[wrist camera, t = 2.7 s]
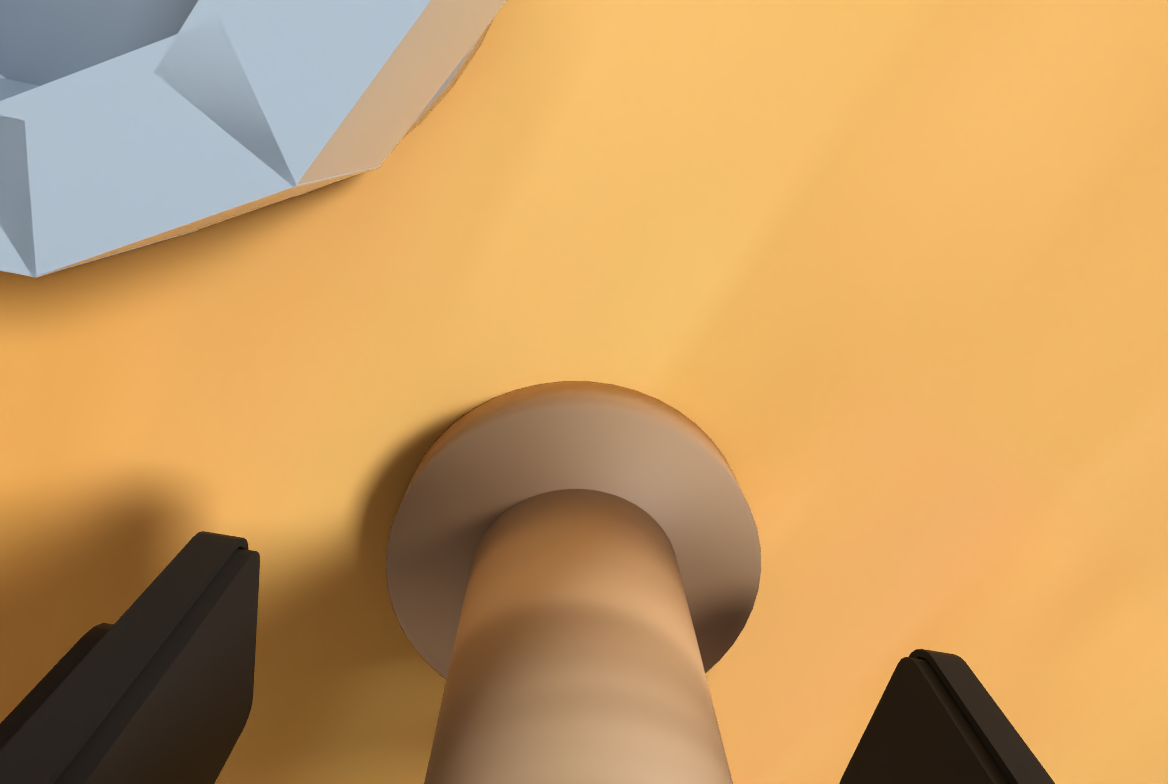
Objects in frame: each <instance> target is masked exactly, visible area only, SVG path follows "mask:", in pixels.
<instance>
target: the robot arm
mask: <svg viewBox="0 0 1168 784" xmlns="http://www.w3.org/2000/svg"><path fill="white" fill-rule="evenodd" d="M259 569H260V555H259V553H258V552H257V551H251V550H248V543H247V540H246V539H244V538H240V537H234V536H228V535H222V534H216V533H210V532H204V531H203V532H199V533H198V534H196V535H195V536H194V537H193V538H192V539H191V540H190V541H189V542H188V544H187V545H186V546H185V547H184V548H183V549H182V550H181V551H180V552H179V554H178V555H177V556H176V557H175V558H174V559H173V560H172V561H171V562H170V564H169V565H168V566H167V567H166V568H165V569H164V570H163V571H162V572H161V573H160V575H159V576H158V577H157V578H156V579H155V580H154V581H153V582H152V583H151V585H150V586H149V587H148V588H147V589H146V590H145V591H144V592H143V593H142V595H141V596H140V597H139V598H138V599H137V600H136V601H135V602H134V603H133V604H132V606H131V607H130V608H129V609H128V610H127V611H126V612H125V613H124V614H123V616H122V617H121V618H120V619H119V620H118V621H117V622H116V623H115V624H107V623H102V624H100V625H97V626H95V627H93V628H92V629H91V630H90V631H88V632H87V633H86V634H85V635H84V636H83V637H82V638H81V639H80V640H79V641H78V642H77V643H76V644H75V645H74V646H73V647H72V648H71V649H70V651H69V652H68V653H67V654H66V655H65V656H64V657H63V658H62V659H61V660H60V661H59V662H58V663H57V664H56V665H55V666H54V667H53V669H52V670H51V671H50V672H49V673H48V674H47V675H46V676H45V677H44V678H43V679H42V680H41V681H40V682H39V683H38V684H37V685H36V687H35V688H34V689H33V690H32V691H31V692H30V693H29V694H28V695H27V696H26V697H25V698H24V699H23V700H22V701H21V702H20V704H19V705H18V706H17V707H16V708H15V709H14V710H13V711H12V712H11V713H10V714H9V715H8V716H7V717H6V718H5V719H4V720H3V722H2V723H1V724H0V784H214V783H215V781H216V779H217V777H218V775H219V774H220V772H221V770H222V768H223V766H224V764H225V762H226V761H227V759H228V757H229V755H230V753H231V751H232V749H233V747H234V746H235V744H236V742H237V740H238V738H239V736H240V734H241V732H242V731H243V729H244V726H245V724H246V722H247V719H248V717H249V713H250V710H251V706H252V700H253V684H254V665H255V646H256V627H257V608H258V588H259ZM840 784H1055V783H1054V781H1053V780H1052V779H1051V777H1050V776H1049V775H1048V773H1047V772H1046V771H1045V769H1044V768H1043V766H1042V765H1041V764H1040V762H1039V761H1038V760H1037V758H1036V757H1035V756H1034V754H1033V753H1032V752H1031V750H1030V749H1029V748H1028V746H1027V745H1026V743H1025V742H1024V741H1023V739H1022V738H1021V737H1020V735H1019V734H1018V733H1017V731H1016V730H1015V729H1014V727H1013V726H1012V724H1011V723H1010V722H1009V720H1008V719H1007V718H1006V716H1005V715H1004V714H1003V712H1002V711H1001V710H1000V708H999V707H998V706H997V704H996V703H995V701H994V700H993V699H992V697H991V696H990V695H989V693H988V692H987V691H986V689H985V688H984V687H983V685H982V684H981V683H980V681H979V680H978V678H977V677H976V676H975V674H974V673H973V672H972V670H971V669H970V668H969V666H968V665H967V664H966V662H965V661H964V660H963V659H962V658H961V657H959V656H957V655H954V654H948V653H942V652H936V651H930V650H924V649H916V650H915V651H913V652H912V653H911V654H910V655H909V657H904V658H903V659H901V660H900V662H899V663H898V665H897V667H896V669H895V671H894V673H893V675H892V677H891V679H890V681H889V683H888V685H887V687H886V689H885V691H884V693H883V695H882V697H881V699H880V701H879V703H878V705H877V707H876V709H875V711H874V714H873V716H872V718H871V720H870V722H869V724H868V726H867V728H866V730H865V732H864V734H863V736H862V738H861V740H860V742H859V744H858V746H857V748H856V750H855V752H854V754H853V756H852V758H851V760H850V762H849V764H848V766H847V768H846V770H845V772H844V774H843V776H842V778H841V781H840Z"/></svg>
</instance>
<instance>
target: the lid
mask: <svg viewBox="0 0 1168 784" xmlns="http://www.w3.org/2000/svg"><path fill="white" fill-rule="evenodd" d="M760 573H761V548H760V543H759V537H758V531H757V527H756V524H755V521H754V519H753V516H752V513H751V510H750V507H749V505H748V503H747V501H746V499H745V497H744V495H743V493H742V491H741V488H740V486H739V484H738V482H737V480H736V478H735V476H734V474H733V472H732V470H731V468H730V466H729V464H728V463H727V461H726V459H725V457H724V456H723V454H722V453H721V452H720V450H719V449H718V448H717V446H716V445H715V443H714V442H713V441H712V440H711V439H710V438H709V437H708V436H707V435H706V434H705V433H704V432H703V431H702V430H701V429H700V428H699V427H698V426H697V425H696V424H695V423H694V422H693V421H691V420H690V419H689V418H687V417H686V416H685V415H683V414H682V413H681V412H679V411H678V410H676V409H674V408H672V407H671V406H669V405H667V404H665V403H664V402H662V401H660V400H658V399H656V398H653V397H651V396H648V395H646V394H643V393H641V392H638V391H635V390H632V389H628V388H624V387H620V386H616V385H612V384H604V383H597V382H589V381H562V382H553V383H544V384H538V385H534V386H529V387H525V388H521V389H517V390H514V391H511V392H509V393H506V394H503V395H501V396H498V397H496V398H493V399H491V400H489V401H487V402H486V403H484V404H482V405H480V406H478V407H476V408H474V409H473V410H471V411H470V412H468V413H467V414H466V415H464V416H463V417H461V418H460V419H459V420H457V421H456V422H454V423H453V424H452V425H451V426H450V427H449V428H448V429H447V430H446V431H445V432H444V433H443V434H442V435H441V436H440V437H439V438H438V439H437V440H436V441H435V442H434V444H433V445H432V446H431V447H430V449H429V450H428V451H427V453H426V454H425V455H424V457H423V459H422V460H421V462H420V464H419V466H418V467H417V469H416V471H415V473H414V475H413V477H412V479H411V481H410V484H409V486H408V488H407V491H406V493H405V495H404V497H403V500H402V502H401V504H400V507H399V509H398V512H397V514H396V517H395V520H394V522H393V525H392V527H391V532H390V536H389V541H388V546H387V557H386V575H387V584H388V591H389V595H390V599H391V602H392V606H393V609H394V612H395V614H396V616H397V619H398V621H399V623H400V625H401V628H402V629H403V631H404V633H405V634H406V636H407V637H408V639H409V641H410V642H411V644H412V645H413V647H414V648H415V649H416V650H417V651H418V653H419V654H420V655H421V656H422V657H423V659H424V660H425V661H426V662H427V663H428V664H429V665H430V666H431V667H432V668H433V669H435V670H436V671H437V672H438V673H439V674H440V675H441V676H442V677H444V678H445V679H447V681H446V685H445V690H444V694H443V699H442V704H441V708H440V713H439V718H438V722H437V727H436V732H435V736H434V741H433V745H432V750H431V755H430V759H429V764H428V769H427V773H426V778H425V782H424V784H733V782H732V778H731V774H730V770H729V766H728V762H727V758H726V754H725V750H724V746H723V742H722V738H721V734H720V730H719V726H718V722H717V719H716V715H715V711H714V707H713V703H712V699H711V695H710V691H709V687H708V683H707V679H706V675H705V673H706V672H707V671H708V670H710V669H711V668H712V667H713V666H714V665H715V664H716V663H717V662H718V661H719V660H720V659H721V658H722V657H723V656H724V654H725V653H726V652H727V651H728V650H729V649H730V647H731V646H732V645H733V644H734V642H735V640H736V639H737V637H738V636H739V634H740V633H741V631H742V630H743V628H744V626H745V624H746V622H747V620H748V618H749V615H750V613H751V611H752V609H753V606H754V602H755V599H756V595H757V592H758V588H759V581H760Z"/></svg>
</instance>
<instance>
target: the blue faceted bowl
mask: <svg viewBox="0 0 1168 784" xmlns="http://www.w3.org/2000/svg"><path fill="white" fill-rule="evenodd" d="M506 1H507V0H0V271H5V272H10V273H15V274H21V275H26V276H31V277H33V278H34V277H36V278H37V277H40V276H44V275H47V274H51V273H54V272H57V271H61V270H64V269H68V268H71V267H75V266H78V265H81V264H85V263H88V262H92V261H95V260H99V259H102V258H105V257H109V256H112V255H116V254H119V253H123V252H126V251H130V250H133V249H136V248H140V247H143V246H147V245H150V244H154V243H157V242H160V241H164V240H167V239H171V238H174V237H178V236H181V235H184V234H188V233H191V232H195V231H198V230H199V229H202V228H205V227H208V226H211V225H214V224H216V223H219V222H222V221H225V220H228V219H231V218H234V217H237V216H239V215H242V214H245V213H248V212H251V211H254V210H257V209H260V208H262V207H265V206H268V205H271V204H274V203H277V202H280V201H283V200H286V199H289V198H292V197H296V196H300V195H303V194H307V193H309V192H312V191H314V190H316V189H319V188H321V187H323V186H326V185H329V184H332V183H334V182H337V181H340V180H343V179H346V178H349V177H352V176H355V175H357V174H360V173H363V172H366V171H369V170H372V169H375V168H380V167H381V165H382V164H383V162H384V161H385V160H386V158H387V157H388V156H389V154H390V153H391V152H392V151H393V149H394V148H395V147H396V145H397V144H398V143H399V141H400V140H401V139H402V138H403V137H405V136H406V135H407V134H408V133H409V132H410V131H412V130H413V129H414V128H415V127H416V126H418V125H419V124H420V123H421V122H422V121H423V120H424V119H425V118H426V116H427V115H428V114H429V113H430V112H431V111H432V110H433V108H434V107H435V106H436V105H437V104H438V103H439V102H440V101H441V99H442V98H443V97H444V96H445V95H446V94H447V93H448V92H449V90H450V89H451V88H452V87H453V86H454V84H455V83H456V81H457V80H458V78H459V77H460V75H461V74H462V72H463V71H464V69H465V68H466V66H467V65H468V63H469V62H470V60H471V59H472V57H473V56H474V54H475V53H476V51H477V50H478V48H479V47H480V45H481V43H482V41H483V39H484V37H485V35H486V33H487V31H488V29H489V27H490V25H491V23H492V21H493V19H494V17H495V16H496V14H497V13H498V12H499V10H500V9H501V8H502V7H503V5H504V4H505V3H506Z"/></svg>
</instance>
